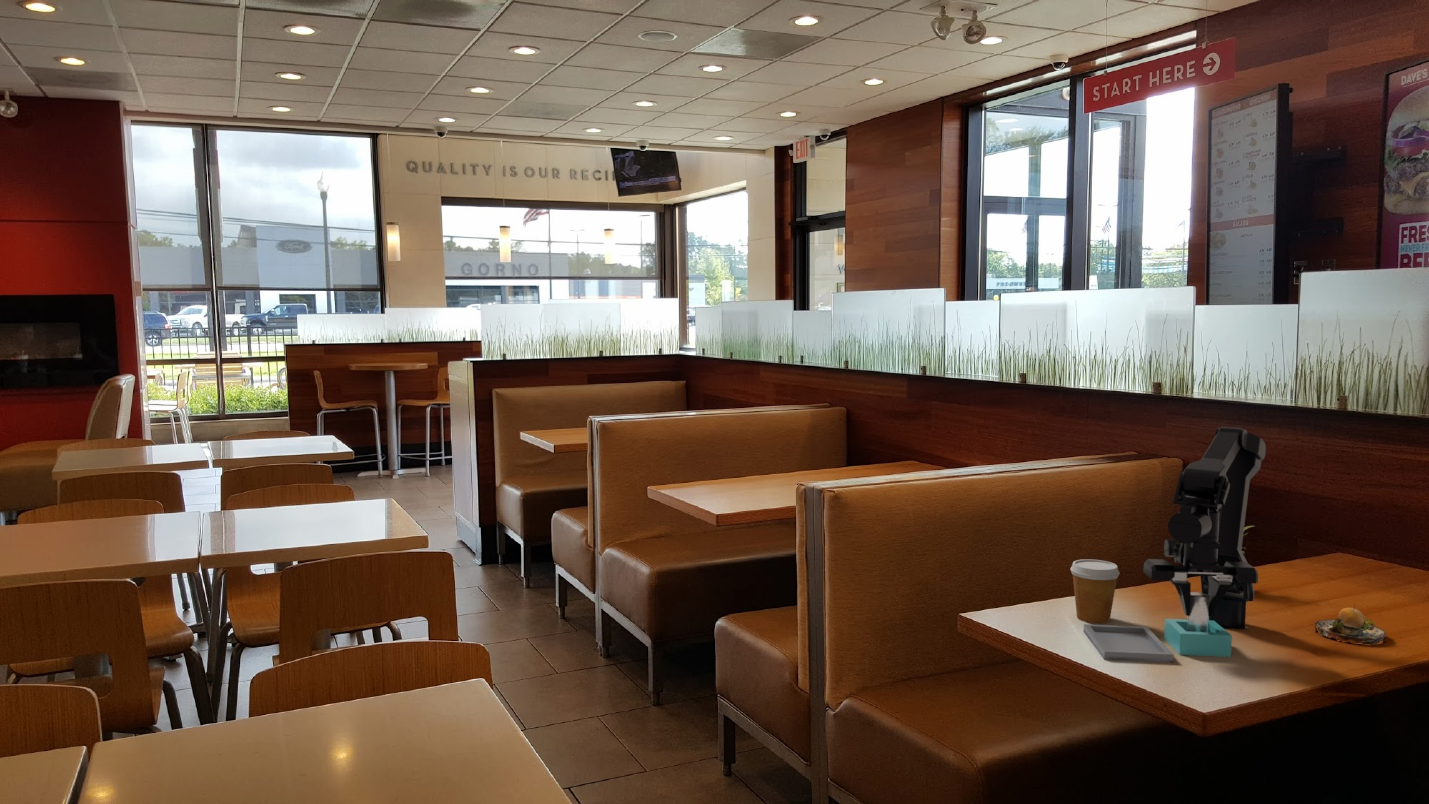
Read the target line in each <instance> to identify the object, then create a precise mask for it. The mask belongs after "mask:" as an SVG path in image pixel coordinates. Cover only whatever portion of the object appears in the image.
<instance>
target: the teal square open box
mask: <svg viewBox="0 0 1429 804" xmlns="http://www.w3.org/2000/svg"><path fill="white" fill-rule="evenodd" d="M1163 632H1164V635H1163V639H1164V641H1166V643H1167V644H1168V645H1170V647H1171V648H1172V649H1173V650H1174V652H1176V653H1177V654H1178V655H1179V656H1194V657H1195V656H1198V657H1220V658H1222V657H1223V658H1232V643H1233V635H1232V634H1231V633H1230V632H1228V631H1227V629H1223V628H1222V627H1221V626H1220V625H1219V624H1217V623H1216V622H1215V621H1211V620H1209V621H1208V632H1188V631H1187V619H1184V618H1183V619H1181V618H1180V619H1179V618H1177V619H1176V618H1164V631H1163Z"/></svg>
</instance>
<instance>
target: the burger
mask: <svg viewBox="0 0 1429 804" xmlns="http://www.w3.org/2000/svg"><path fill="white" fill-rule="evenodd" d="M1355 605H1356V604H1355V603H1354V605H1353V607H1344V608H1342V609H1341V610H1340V611H1339V612H1338V618H1335V619H1322V620H1317V621H1315V622H1314V630H1315V631H1318V632H1317V633H1318V635H1319V634H1320V635H1322V636H1321V637H1324V636H1326V637H1325V638H1329V639H1331V638H1332V639H1335V641H1337V640H1339V641H1346V643H1350V644H1351V643H1355V644H1356V643H1363V644H1377V643H1379V642H1380V641H1382V640H1383V639H1384V638H1385V637H1386V636H1387V632H1386V631H1385V630H1384V629H1382V628H1381V627H1378V626H1376V625H1377V622H1373V621H1371V620H1372V618H1366V617H1365V615H1364V614H1363V613H1362V612H1361V611H1360V610H1358V609H1356V608H1355ZM1365 619H1366V620H1365ZM1315 631H1314V632H1315ZM1320 635H1319V636H1320Z"/></svg>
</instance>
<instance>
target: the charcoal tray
mask: <svg viewBox="0 0 1429 804" xmlns="http://www.w3.org/2000/svg"><path fill="white" fill-rule="evenodd" d="M1083 633H1084V635H1085V636H1086V637H1087V639H1088V640H1089V641H1090V643H1091V644H1092V646H1093V647H1094V648H1095V649H1096V650H1097V652H1098V653H1099V655H1100V656H1101V657H1102V659H1103V660H1104V661H1121V662H1123V661H1124V662H1126V661H1127V662H1146V663H1147V662H1148V663H1149V662H1150V663H1166V664H1167V663H1170V664H1171V663H1174V660H1175V659H1174V655H1175V654H1174V653H1173V652H1172V651H1171V650H1170V649H1169V648H1168V647H1167V646H1166V645H1165V644H1164V643H1163V642H1162V641H1161V640H1160V638H1159V637H1158V636H1156V634H1155V633H1154V632H1152V630H1151V629H1150V628H1148V626H1133V625H1113V624H1112V625H1109V624H1108V625H1107V624H1090V623H1088V624H1086V623H1085V624H1084V623H1083Z"/></svg>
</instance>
